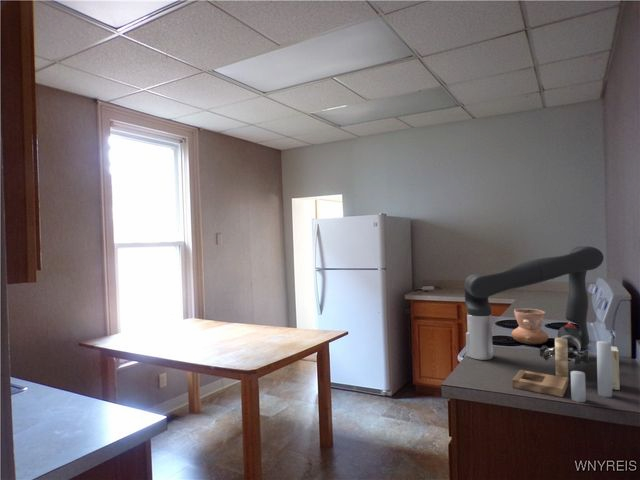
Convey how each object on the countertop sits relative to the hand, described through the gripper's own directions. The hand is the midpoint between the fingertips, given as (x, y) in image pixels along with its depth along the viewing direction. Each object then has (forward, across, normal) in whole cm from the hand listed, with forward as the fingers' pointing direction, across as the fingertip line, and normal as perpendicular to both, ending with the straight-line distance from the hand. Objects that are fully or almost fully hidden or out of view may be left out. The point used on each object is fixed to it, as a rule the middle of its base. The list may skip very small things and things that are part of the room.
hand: (560, 359), depth 133 cm
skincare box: (-5, +13, +8) cm, 16 cm away
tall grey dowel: (+4, +12, +8) cm, 15 cm away
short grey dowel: (+12, +6, +8) cm, 16 cm away
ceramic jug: (-46, -18, +8) cm, 50 cm away
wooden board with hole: (+7, -5, +8) cm, 12 cm away
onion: (-58, -4, +8) cm, 58 cm away
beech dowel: (-2, 0, +8) cm, 8 cm away
